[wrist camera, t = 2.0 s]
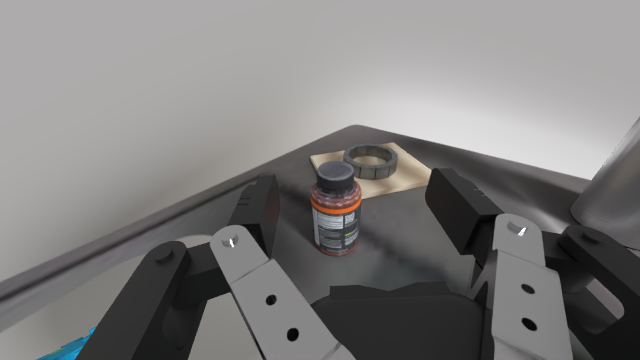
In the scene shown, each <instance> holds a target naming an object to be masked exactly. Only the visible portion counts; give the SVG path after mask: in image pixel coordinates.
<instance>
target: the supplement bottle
mask: <svg viewBox="0 0 640 360" xmlns="http://www.w3.org/2000/svg"><path fill="white" fill-rule="evenodd" d="M310 196H311V209H312V219H313V230H314V239H315V243H316V245H317V247H318V248H319V249H320V250H321V251H322V252H323V253H325V254H328V255H331V256H343V255H346V254H348V253H350V252H351V251H353V250H354V249H355V247H356V246H357V243H358V239H359V225H360V211H361V187H360V185H359V183H358V182H357V181H356V180H355V179H354V169H353V167H352V166H351V165H350V164H348V163H346V162H343V161H328V162H325V163H323V164H321V165H320V166H319V167H318V169H317V180H316V181H315V182H314V183H313V185H312V186H311V190H310Z"/></svg>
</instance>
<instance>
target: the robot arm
mask: <svg viewBox="0 0 640 360" xmlns="http://www.w3.org/2000/svg"><path fill="white" fill-rule="evenodd" d="M425 200H426V203H427V205H428V207H429V208H430V210H431V211H432V213H433V214H434V216H435V217H436V219H437V220H438V222H439V223H440V225H441V226H442V228H443V229H444V231H445V232H446V234H447V235H448V237H449V238H450V240H451V241H452V243H453V244H454V246H455V247H456V249H457V250H458V252H459V253H460V255H473V256H474V257H475V258H474V260H473V262H472V267H471V272H470V277H469V282H468V288H467V293H466V296H463V295H461V294H458V293H455V292H451V291H449V289H448V287H447V285H446V283H445V281H441V282H418V283H414V284H411V285H407V286H404V287H401V288H398V289H395V290H392V291H385V290H380V289H375V288H370V287H365V286H360V285H348V286H330V295H329V296H326V297H323V298H321V299H319V300H317V301H316V302H314V303H313V304H311V305H309V304H308V302H307V301H306V300H305V299H304V297H303V296H302V295H301V293H300V292H299V291H298V289H297V288H296V287H295V285H294V284H293V283H292V281H291V280H290V279H289V278H288V276H287V275H286V274H285V272H284V271H283V270H282V268H281V267H280V266H279V264H278V263H277V262H276V261H275V260H274V259H273V258H271V259H270V257H271V252H272V247H273V241H274V236H275V231H276V226H277V221H278V215H279V210H280V199H279V193H278V187H277V181H276V176H275V174H267V175H259V177H258V180H257V183H256V185H249V186H248V187H247V188H246V189H245V190H244V191H243V192H242V194H241V196H240V200H239V201H238V203H237V206H236V207H235V210H234V212H233V214H232V216H231V219H230V221H229V223H228V225H227V227H225V228H222V229H221V230H219V231H218V232H216V233H215V234H214V235H213V237H212V238H211V240H210V242H208V243H205V244H201V245H198V246H194V247H191V248H186V246H185V244H184V243H182V242H180V241H170V242H166V243H163V244H161V245H159V246H157V247H155V248H154V249H152V250H151V251H150V252H149V253H148V254H147V255H146V256H145V257H144V258H143V260H142V261H141V263H140V265H139V266H138V267H137V269H136V270H135V271H134V273H133V274H132V276H131V277H130V279H129V280H128V282H127V283H126V285H125V286H124V288H123V289H122V290H121V292H120V293H119V295H118V296H117V298H116V299H115V301H114V302H113V304H112V305H111V307H110V308H109V310H108V311H107V313H106V314H105V315H104V317H103V318H102V320H101V321H100V323H99V324H98V326H97V327H96V329H95V330H94V331H93V333H92V334H91V336H90V337H89V339H88V340H87V342H86V343H85V345H84V346H83V348H82V349H81V351H80V352H79V353H78V355H77V356H76V358H75V359H74V360H188V357H189V354H190V351H191V348H192V344H193V342H194V339H195V336H196V333H197V330H198V327H199V324H200V321H201V318H202V315H203V312H204V309H205V306H206V303H207V300H209V299H212V298H215V297H217V296H220V295H223V294H226V293H228V292H231V294H232V296H233V298H234V300H235V302H236V304H237V306H238V308H239V310H240V313H241V315H242V317H243V319H244V321H245V323H246V325H247V327H248V329H249V331H250V333H251V336H252V338H253V340H254V342H255V344H256V346H257V348H258V350H259V352H260V354H261V357H262V359H263V360H573V356H572V350H571V344H570V338H569V332H568V328H569V329H570V330H571V331H572V332H573V334H574V335H575V336H576V337H577V339H578V340H579V341H580V342H581V344H582V345H583V346H584V347H585V349H586V350H587V351H588V352H589V353H590V355H591V356H592V357H593V358H594V360H640V258H639V257H638V256H636V255H635V254H634V253H632V252H631V251H630V250H628V249H627V248H625V247H624V246H626V247H630V248H634V249H637V250H640V117H639V118H638V120H637V121H636V122H635V124H634V125H633V126H632V128H631V129H630V130H629V132H628V133H627V134H626V136H625V137H624V138H623V139H622V141H621V142H620V144H619V145H618V146H617V147H616V149H615V150H614V152H613V153H612V154H611V155H610V157H609V158H608V159H607V160H606V162H605V163H604V164H603V166H602V167H601V168H600V170H599V171H598V172H597V174H596V175H595V176H594V178H593V179H592V180H591V181H590V183H589V184H588V185H587V187H586V188H585V189H584V191H583V192H582V193H581V194H580V196H579V197H578V198H577V200H576V201H575V202H574V204H573V205H572V206H571V208H570V211H571V214H572V216H573V217H574V218H575V219H576V220H577V221H578V222H579V223H580V224H581V225H569V226H567V227H566V229H565V230H564V231H563V233H562V234H557V233H551V232H545V231H541V230H540V229H539V228H538V227H537V226H536V225H535V224H534V223H532V222H531V221H529V220H527V219H525V218H523V217H520V216H517V215H513V214H505V213H504V212H503V211H502V210H501V209H500V208H499V207H498V206H497V205H495V204H494V203H493V202H492V201H491V200H490V199H489V198H488V197H487V196H485V195H484V193H483V192H482V191H481V190H479V189H478V188H477V187H476V186H475V185H474V184H473V183H472V182H471V181H469V180H467V179H465V178H463V177H460V176H459V175H458V174H457V173H456V172H455V171H454V170H453V169H452V168H450V167H445V168H434V169H433V170H432V171H431V175H430V178H429V182H428V185H427V189H426V193H425ZM582 225H583V226H582ZM594 278H596V279H597V280H598V281H599V282H600V283H601V284H602V285H604V286H605V287H606V288H607V289H608V290H609V291H610V292H611V293H612V294H613V295H614V296H615V297H617V298H618V299H619V301H620V302H621V303H622V305H623V307H624V315H623V317H622V318H620V319H619V320H618V319H617V318H616V317H615V316H614V315H613V314H612V313H611V312H610V311H609V310H608V309H607V308H606V307H605V306H604V305H603V304H602V303H601V302H600V301H599V300H598V299H597V298H596V297H595V296H594V295H593V294H592V293H591V292H590V291H589V290H588V289H587V288H586V286H587V285H588V284H589V283H590V282H591V281H592V280H593V279H594Z"/></svg>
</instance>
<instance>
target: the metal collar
mask: <svg viewBox="0 0 640 360" xmlns="http://www.w3.org/2000/svg"><path fill="white" fill-rule="evenodd" d="M363 156H371V157H378V158H380V159H383V160H385V161H386V162H387V163H385V164H380V165H364V164H360V163H358V162H355V161H353V159H355V158H357V157H363ZM343 162H346V163H348V164H350V165H351V166H352V167H353V169H354V177H356V178H360V179H365V180H380V179H385V178H389V177H390V176H391V175H392V174H394V173H395V172H396V168H397V162H398V154H397V153H396V152H395V151H394V150H393V149H391V148H390V147H386V146H383V145H380V144H370V143H366V144H365V143H363V144H357V145H353V146H351V147H349V148H347V149H346V150H345V152H344V155H343Z"/></svg>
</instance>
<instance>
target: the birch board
mask: <svg viewBox="0 0 640 360" xmlns="http://www.w3.org/2000/svg"><path fill="white" fill-rule="evenodd" d="M381 145H383V146H386V147H390V148H391V149H393V150H394V151H395V152H396V153H397V154H398V162H397V168H396V172H395V173H394V174H392V175H391V176H390V177H389V178H385V179H380V180H365V179H360V178H356V177H354V179H355V180H356V181H357V182H358V183H359V185H360V187H361V199H365V198H369V197H374V196H379V195H383V194H388V193H393V192H397V191H402V190H407V189H411V188H416V187H421V186H425V185H428V182H429V178H430V175H431V170H430V169H428V168H427V167H426V166H424V165H423V164H422V163H420V162H419V161H418V160H416V159H415V158H414V157H412V156H411V155H410V154H408V153H407V152H406V151H404V150H403V149H401V148H400V147H399V146H397V145H396V144H395V143H387V144H381ZM344 152H345V150H344V151H338V152H332V153H326V154H320V155H314V156H311V161H312V163H313V165H314V167H315V169H316V171H317V169H318V167H319V166H320V165H321V164H323V163H325V162H328V161H343V155H344ZM353 161H355V162H358V163H360V164H364V165H380V164H385V163H387V162H386V161H385V160H383V159H380V158H378V157H371V156H363V157H357V158H355V159H353Z"/></svg>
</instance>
